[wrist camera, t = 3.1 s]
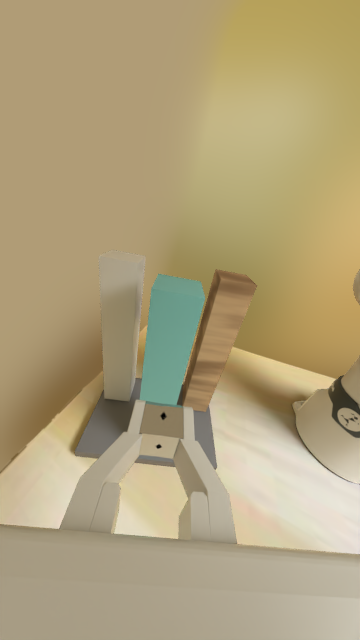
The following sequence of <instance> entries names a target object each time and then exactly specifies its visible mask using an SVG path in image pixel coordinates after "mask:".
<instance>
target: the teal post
mask: <svg viewBox="0 0 360 640" xmlns="http://www.w3.org/2000/svg"><path fill="white" fill-rule="evenodd" d="M204 300H205V296H204V292H203V288H202V284H201V282H200V281H195V280H189V279H184V278H178V277H173V276H167V275H162V274H158V276H157V278H156V280H155V282H154V285H153V287H152V290H151V299H150V308H149V318H148V327H147V336H146V345H145V355H144V364H143V373H142V383H141V392H140V400H144V401H150V402H156V403H162V404H172V405H177V401H178V397H179V394H180V390H181V386H182V382H183V379H184V375H185V371H186V367H187V364H188V360H189V356H190V353H191V349H192V345H193V341H194V338H195V334H196V330H197V326H198V323H199V319H200V315H201V312H202V308H203V304H204Z"/></svg>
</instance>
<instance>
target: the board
mask: <svg viewBox="0 0 360 640" xmlns="http://www.w3.org/2000/svg"><path fill="white" fill-rule="evenodd" d="M141 383H142V379H139V378H135V384H134V388H133V391H132V394H131V398H130V401H129V402H128V401H120V400H113V399H106V398H104V390H103V392H102V394H101V396H100V399H99V401H98V403H97V405H96V407H95V409H94V411H93V413H92V416H91V418H90V420H89V422H88V424H87V426H86V428H85V430H84V433H83V435H82V437H81V439H80V441H79V443H78V445H77V448H76V450H75V455H76V456H80V457H89V458H99V457H100V456H101V455H102V454H103V453H104V452H105V451H106V450H107V449H108V448H109V447H110V446H111V445H112V444H113V443H114V442H115V441H116V440H117V439H118V438H119V436H120V435H121V434H122V433H123V432H127V430H128V427H129V423H130V419H131V415H132V412H133V408H134V404H135V401H136V399H137V400H140V392H141ZM183 386H184V385H182V386H181V390H180V394H179V397H178V401H177V405H180V406H182V395H183ZM193 416H194V435H195V441H198V443H199V444H200V446H201V448H202V449H203V451H204V453H205V454H206V456H207V458H208V459H209V461H210V463H211V465H212V466H213V468H214V470H216V468H217V463H216V455H215V448H214V440H213V432H212V425H211V417H210V409H209V405H208V408H207V410H206V412H203V411H195V410H193ZM134 463H143V464H152V465H161V466H170V467H176V466H175V464H174V461H173V459H171V458H164V457H158V456H148V455H139V457H138V458H137V459H136V461H135V462H134Z"/></svg>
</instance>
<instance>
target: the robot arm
mask: <svg viewBox="0 0 360 640" xmlns="http://www.w3.org/2000/svg"><path fill="white" fill-rule="evenodd" d="M353 291H354V295H355V298H356V300H357V302H358V303H359V304H360V270H359V271H358V273H357V275H356V277H355V280H354V285H353ZM292 406H293V409H294V412H295V414H296V427H297V430H298V433H299V435H300V437H301V439H302V440H303V442H304V443H305V445H306V446H307V448H308V449H309V450H310V451H311V453H312V454H313V455H314V456H315V457H316V458H317V459H318V460H319V461H320V462H321V463H322V464H323V465H325V466H326V467H327V468H328V469H330V470H331V471H332V472H334V473H335V474H337V475H339V476H340V477H342V478H344V479H346V480H348V481H351V482H354V483H357V484H360V356H359V358H358V359H357V360H356V362H355V363H354V364H353V366H352V367H351V368H350V369H349V371H348V372H347V373H346V374H345V375H343V376H340V377H339V378H338V379H337V380H335V381H334V382H333V383H332V385H331V386H330V388H328V389H317V390H316V391H315V392H314V393H313V394H312V395H311V396H310V397H309V398H308V399H307V400H305V401H296V402H294V403H293V404H292ZM139 455H148V456H158V457H164V458H171V459H173V461H174V464H175V466H176V469H177V471H178V474H179V476H180V479H181V482H182V484H183V487H184V489H185V492H186V494H187V497H188V501H187V503H186V504H185V506H184V508H183V510H182V512H181V513H180V515H179V532H178V539H171V538H159V537H147V536H135V535H123V534H114V531H115V526H116V521H117V517H118V512H119V502H120V490H121V488H120V486H119V483H120V482H121V480H122V479H123V477H124V476H125V475H126V473H127V472H128V470H129V469H130V468H131V466H132V465H133V464H134V462H135V461H136V459H137V458H138V457H139ZM0 640H360V554H349V553H337V552H325V551H313V550H301V549H290V548H278V547H266V546H254V545H242V544H237V540H236V534H235V527H234V521H233V515H232V509H231V503H230V497H229V493H228V492H227V490H226V488H225V487H224V485H223V483H222V482H221V480H220V478H219V476H218V475H217V473H216V471H215V470H214V468H213V466H212V465H211V463H210V461H209V459H208V458H207V456H206V454H205V453H204V451H203V449H202V448H201V446H200V444H199V443H198V441H195V435H194V416H193V408H192V407H186V406H180V405H172V404H162V403H156V402H150V401H144V400H137V399H136V401H135V404H134V408H133V412H132V415H131V419H130V423H129V427H128V430H127V432H123V433H122V434H121V435H120V436H119V438H118V439H117V440H116V441H115V442H114V443H113V444H112V445H111V446H110V447H109V448H108V449H107V450H106V451H105V452H104V453H103V454H102V455H101V456H100V457H99V458H98V459H97V461H96V462H95V463H94V464H93V465H92V466H91V467H90V468H89V469H88V470H87V471H86V472H85V473H84V474H83V475H82V476H81V477H80V479H79V481H78V484H77V486H76V489H75V491H74V493H73V496H72V498H71V501H70V503H69V506H68V508H67V511H66V513H65V516H64V518H63V520H62V523H61V525H60V528H59V529H52V528H40V527H28V526H16V525H4V524H0Z"/></svg>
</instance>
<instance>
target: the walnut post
mask: <svg viewBox="0 0 360 640" xmlns="http://www.w3.org/2000/svg"><path fill="white" fill-rule="evenodd" d="M256 287H257V285H256V284H255V283H254V282H253V281H252V280H251V279H250V278H249V277H248V276H247V275H243V274H237V273H232V272H227V271H222V270H217V269H216V270H215V273H214V277H213V281H212V284H211V288H210V291H209V296H208V299H207V302H206V306H205V309H204V313H203V317H202V320H201V324H200V328H199V332H198V335H197V338H196V342H195V346H194V349H193V353H192V357H191V360H190V364H189V367H188V371H187V375H186V378H185V382H184V386H183V395H182V406H186V407H192V408H193V410H195V411H203V412H206V410H207V408H208V405H209V403H210V400H211V398H212V395H213V393H214V390H215V388H216V386H217V383H218V381H219V378H220V376H221V373H222V371H223V368H224V366H225V363H226V361H227V358H228V356H229V354H230V351H231V349H232V346H233V344H234V341H235V339H236V336H237V334H238V331H239V328H240V326H241V324H242V322H243V319H244V316H245V314H246V312H247V309H248V307H249V304H250V302H251V299H252V297H253V295H254V292H255V290H256Z"/></svg>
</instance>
